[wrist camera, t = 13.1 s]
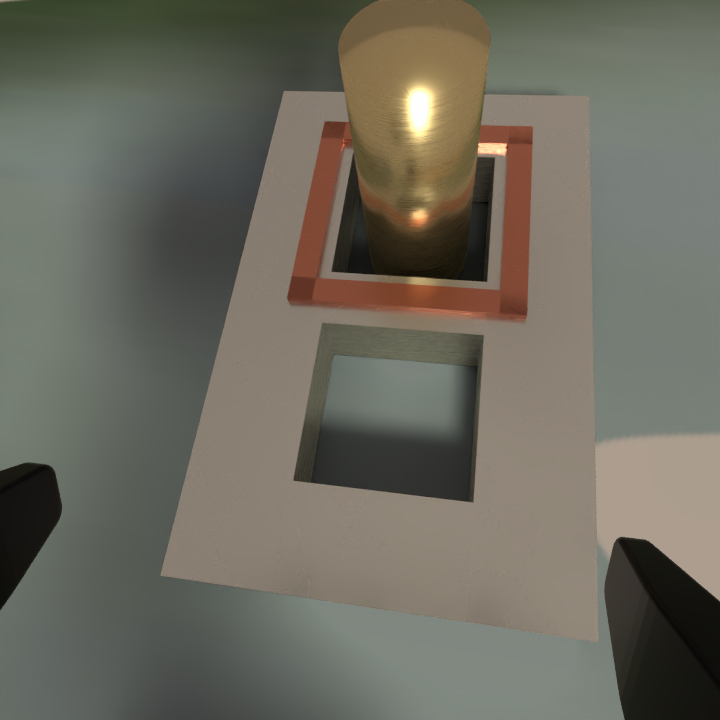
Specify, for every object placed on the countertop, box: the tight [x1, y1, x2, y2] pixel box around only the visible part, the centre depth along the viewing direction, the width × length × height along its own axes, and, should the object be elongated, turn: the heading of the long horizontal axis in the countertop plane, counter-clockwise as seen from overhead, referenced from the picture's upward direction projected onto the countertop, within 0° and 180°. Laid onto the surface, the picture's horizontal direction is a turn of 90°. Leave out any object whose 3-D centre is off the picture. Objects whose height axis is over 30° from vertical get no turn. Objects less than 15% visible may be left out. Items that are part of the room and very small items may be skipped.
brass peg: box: [338, 0, 490, 280], centre depth 22 cm, size 4×4×11 cm
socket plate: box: [160, 91, 598, 642], centre depth 24 cm, size 22×14×3 cm, turn 172°
